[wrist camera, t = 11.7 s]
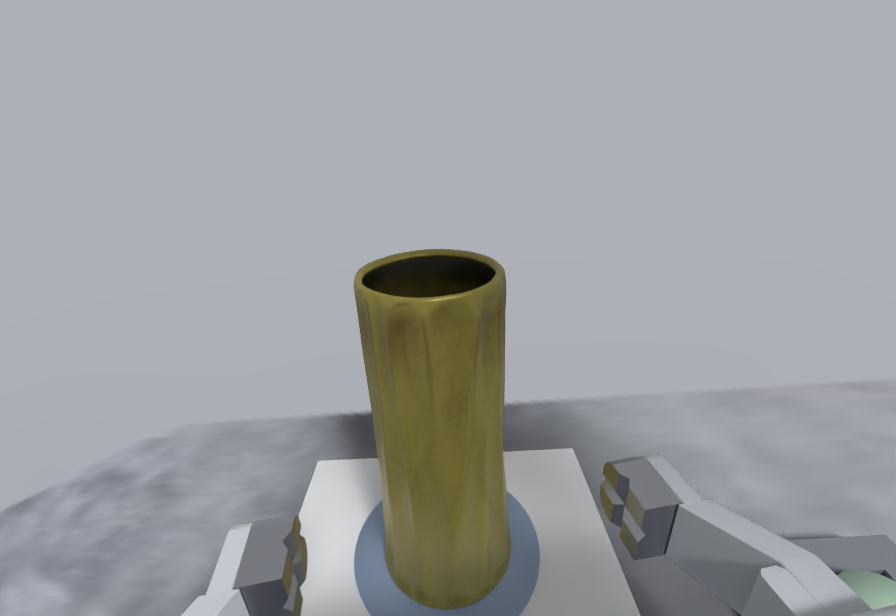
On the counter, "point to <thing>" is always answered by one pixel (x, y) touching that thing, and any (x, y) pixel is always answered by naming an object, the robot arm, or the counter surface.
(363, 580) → the paper pad
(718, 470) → the counter surface
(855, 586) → the button
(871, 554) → the button collar
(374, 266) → the vase
